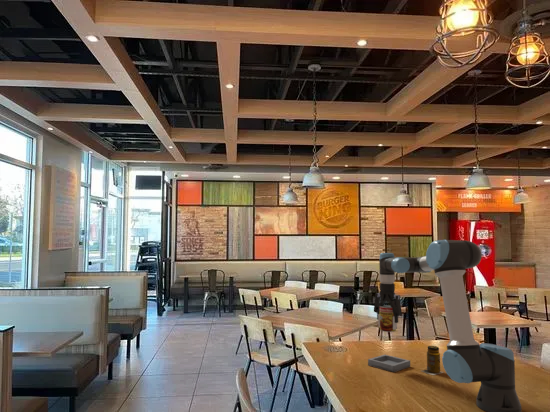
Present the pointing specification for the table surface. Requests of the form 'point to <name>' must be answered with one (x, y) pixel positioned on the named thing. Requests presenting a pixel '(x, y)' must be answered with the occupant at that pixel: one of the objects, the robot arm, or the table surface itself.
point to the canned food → (386, 319)
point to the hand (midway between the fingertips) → (387, 327)
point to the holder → (389, 363)
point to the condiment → (433, 361)
